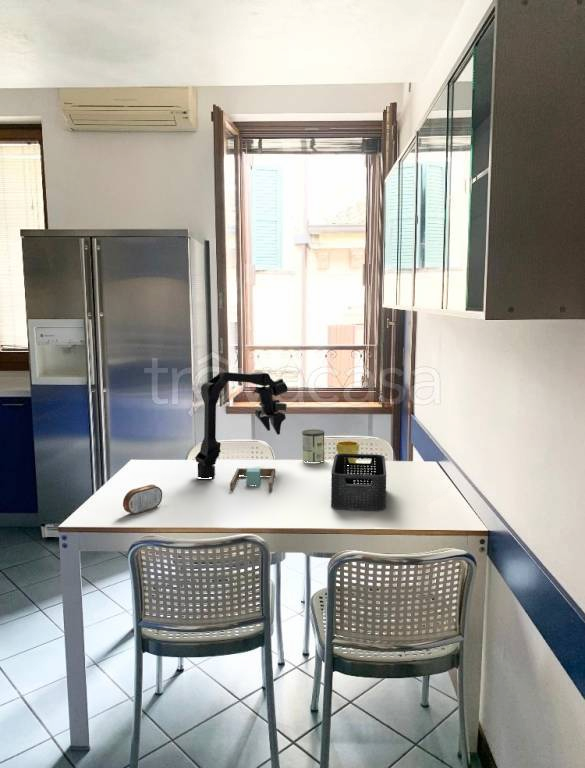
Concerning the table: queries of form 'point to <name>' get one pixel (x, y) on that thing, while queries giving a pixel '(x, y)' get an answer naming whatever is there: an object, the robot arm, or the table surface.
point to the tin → (142, 499)
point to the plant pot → (348, 449)
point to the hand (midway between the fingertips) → (273, 432)
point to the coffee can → (313, 445)
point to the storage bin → (359, 495)
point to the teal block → (253, 476)
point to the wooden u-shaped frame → (244, 472)
